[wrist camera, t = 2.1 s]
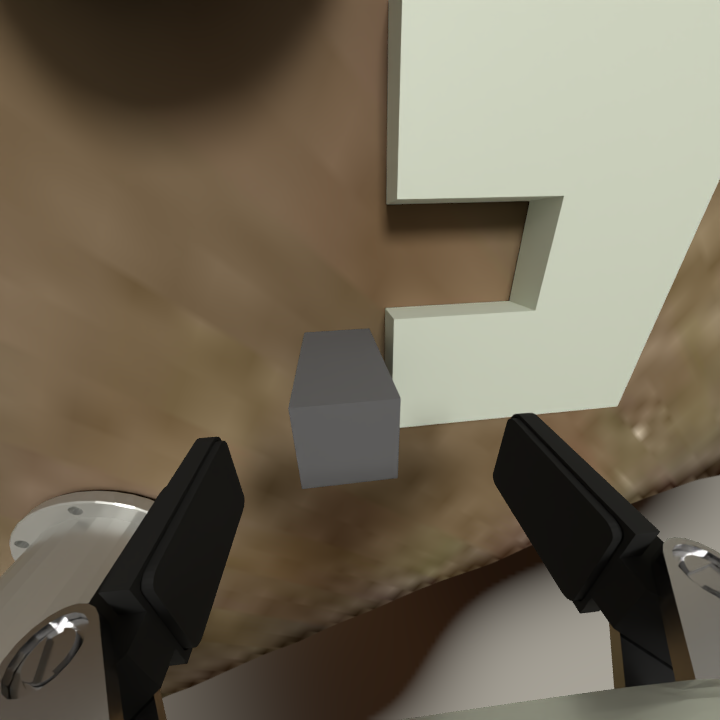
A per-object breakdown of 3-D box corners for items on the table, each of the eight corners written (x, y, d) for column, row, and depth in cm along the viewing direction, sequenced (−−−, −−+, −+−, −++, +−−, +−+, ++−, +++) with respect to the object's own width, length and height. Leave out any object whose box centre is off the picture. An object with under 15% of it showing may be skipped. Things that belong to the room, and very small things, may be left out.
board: (587, 388, 21) (617, 406, 19) (384, 407, 20) (391, 428, 17) (729, 16, 13) (813, -29, 10) (388, 0, 11) (403, -55, 9)
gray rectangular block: (369, 383, 19) (397, 478, 12) (311, 388, 18) (302, 488, 11) (369, 328, 17) (400, 398, 10) (304, 332, 17) (288, 408, 9)
